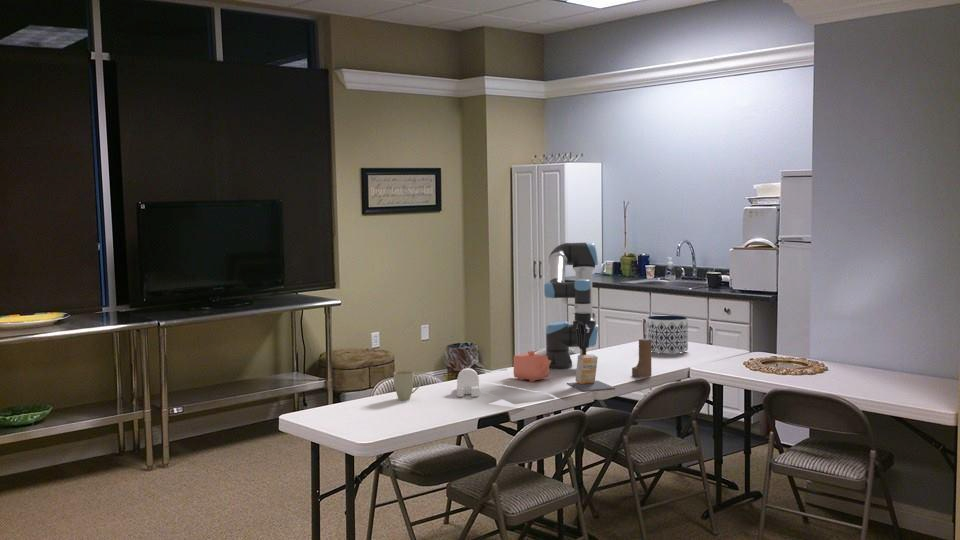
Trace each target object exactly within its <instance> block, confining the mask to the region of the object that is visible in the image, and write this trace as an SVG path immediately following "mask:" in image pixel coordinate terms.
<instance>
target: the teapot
mask: <svg viewBox="0 0 960 540" xmlns="http://www.w3.org/2000/svg"><path fill="white" fill-rule="evenodd" d="M550 363H551V360H548V357H547V356H546V354H538V353H535V351H532V350H529V351H527V353H521V354H515V355H513V376H514V378H517V379H519V381H524V380H529V383H536V381H538V380H539V381H542V380H544V379H545V378H549V375H550V369H549V365H550Z"/></svg>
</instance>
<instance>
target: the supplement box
mask: <svg viewBox="0 0 960 540" xmlns="http://www.w3.org/2000/svg"><path fill="white" fill-rule="evenodd" d="M598 359H599V358H598V356H597V355H595V354H593V353H589V354H587V353H586V355H580V354H578V355H577V362H576V363H577V364H576V371H575V372H576V373H575V382H578V383H579V384H586V383H595V381H596V376H597V375H596V374H597V367H598V366H597V365H598Z"/></svg>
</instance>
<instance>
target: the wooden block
mask: <svg viewBox="0 0 960 540" xmlns="http://www.w3.org/2000/svg"><path fill="white" fill-rule="evenodd" d="M650 376H652V352H651V340H650V339H647V338H641V339H638V363H637V364H636V366H633V367H632V368H631V377H634V378H644V377H645V378H646V377H650Z"/></svg>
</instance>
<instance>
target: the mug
mask: <svg viewBox="0 0 960 540" xmlns="http://www.w3.org/2000/svg"><path fill="white" fill-rule="evenodd" d="M417 377H419V383H418V386H417V387H416V388H415V389H413V388H414V382H415V381H414V380H415V378H417ZM422 381H423V380H422V376H420V375H419V374H415V371H412V370H398V371H394V372H393V383H394V388H395V392H396V397H397V399H398V400H399V401H409V400H410V399H411V396H412V394H414V393H415V392H416V391H417V390H418V389H419V388H420V387H421V385H422Z"/></svg>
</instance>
